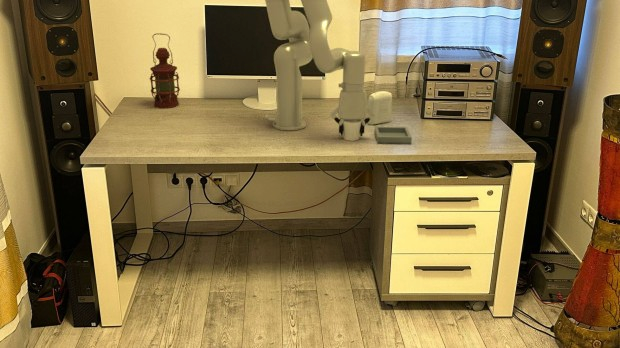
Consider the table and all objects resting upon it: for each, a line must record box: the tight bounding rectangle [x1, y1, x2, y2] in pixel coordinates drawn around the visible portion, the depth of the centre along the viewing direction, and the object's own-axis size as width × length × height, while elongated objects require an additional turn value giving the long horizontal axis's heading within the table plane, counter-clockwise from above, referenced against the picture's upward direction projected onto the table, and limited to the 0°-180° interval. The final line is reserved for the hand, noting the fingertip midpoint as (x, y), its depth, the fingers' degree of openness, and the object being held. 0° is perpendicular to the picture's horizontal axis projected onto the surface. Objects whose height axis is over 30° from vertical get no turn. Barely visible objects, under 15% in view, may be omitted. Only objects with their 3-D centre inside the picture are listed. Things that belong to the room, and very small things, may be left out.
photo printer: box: [366, 90, 393, 126], centre depth 248 cm, size 10×4×12 cm, turn 123°
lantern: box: [149, 32, 181, 109], centre depth 264 cm, size 12×12×30 cm
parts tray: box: [374, 126, 413, 145], centre depth 232 cm, size 12×12×2 cm
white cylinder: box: [343, 119, 361, 142], centre depth 231 cm, size 7×7×7 cm
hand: (351, 134), depth 231 cm, fingers closed on white cylinder, 6 cm apart
